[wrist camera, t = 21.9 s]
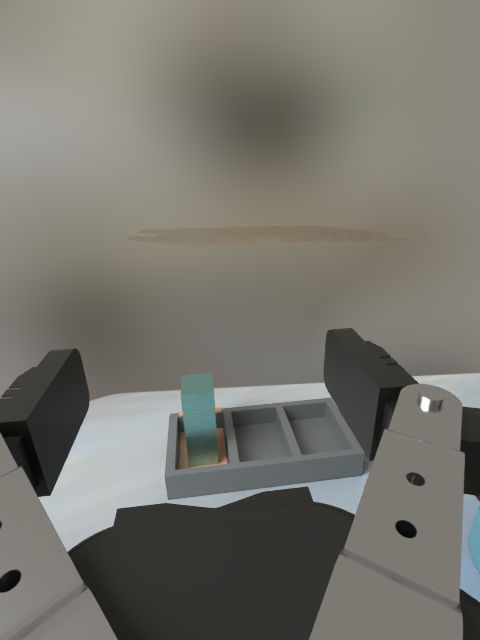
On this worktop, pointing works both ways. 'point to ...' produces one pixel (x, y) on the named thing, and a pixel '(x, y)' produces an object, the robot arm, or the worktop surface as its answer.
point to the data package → (475, 540)
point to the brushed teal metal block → (199, 419)
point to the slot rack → (266, 449)
